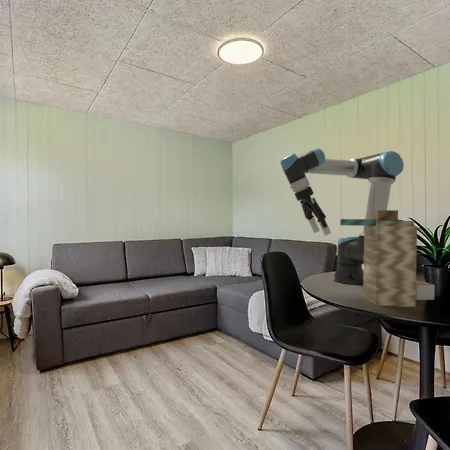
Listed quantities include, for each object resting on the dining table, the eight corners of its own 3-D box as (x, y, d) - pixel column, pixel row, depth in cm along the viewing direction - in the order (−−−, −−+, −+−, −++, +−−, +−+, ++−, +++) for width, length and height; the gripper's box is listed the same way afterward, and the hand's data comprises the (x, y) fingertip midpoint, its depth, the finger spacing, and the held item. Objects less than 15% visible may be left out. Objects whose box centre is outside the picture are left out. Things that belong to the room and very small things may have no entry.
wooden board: (376, 305, 114) (377, 220, 113) (363, 295, 128) (364, 220, 127) (415, 306, 112) (417, 221, 111) (398, 296, 126) (399, 220, 125)
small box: (411, 277, 135) (435, 284, 122) (411, 291, 135) (434, 300, 122) (394, 278, 134) (416, 284, 121) (394, 292, 134) (416, 300, 121)
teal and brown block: (342, 225, 119) (342, 210, 119) (339, 225, 126) (339, 210, 126) (397, 226, 115) (398, 210, 115) (391, 225, 122) (391, 210, 122)
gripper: (287, 194, 144) (306, 234, 145) (302, 191, 119) (324, 239, 120) (301, 187, 144) (320, 227, 145) (319, 183, 119) (341, 231, 120)
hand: (322, 233), depth 132 cm, fingers open, 13 cm apart
